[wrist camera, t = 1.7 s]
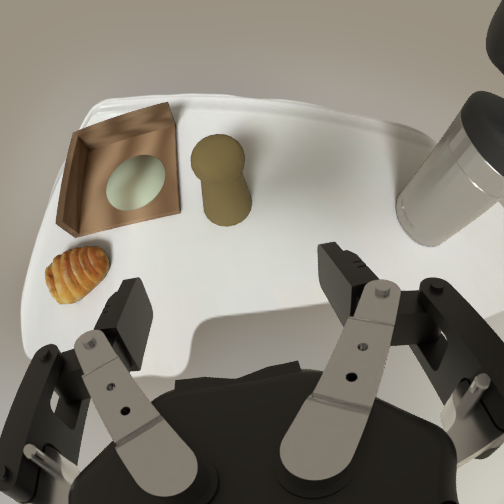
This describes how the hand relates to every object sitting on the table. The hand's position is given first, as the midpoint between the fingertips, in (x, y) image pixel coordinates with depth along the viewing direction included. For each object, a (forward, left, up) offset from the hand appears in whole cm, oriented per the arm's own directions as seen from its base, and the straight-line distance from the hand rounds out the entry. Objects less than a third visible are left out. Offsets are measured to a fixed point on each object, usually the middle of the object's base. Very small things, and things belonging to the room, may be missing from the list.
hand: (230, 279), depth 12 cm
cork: (0, -14, -19) cm, 24 cm away
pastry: (+21, -9, -20) cm, 30 cm away
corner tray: (+14, -22, -19) cm, 33 cm away
